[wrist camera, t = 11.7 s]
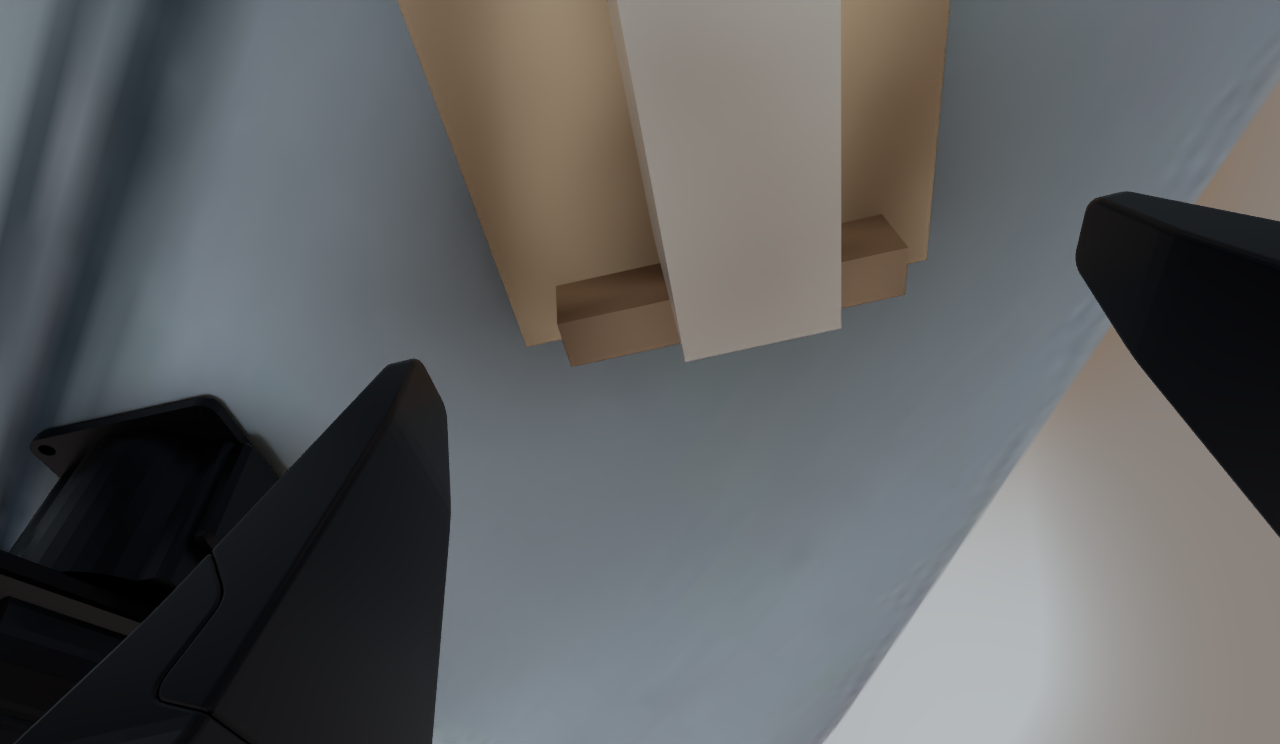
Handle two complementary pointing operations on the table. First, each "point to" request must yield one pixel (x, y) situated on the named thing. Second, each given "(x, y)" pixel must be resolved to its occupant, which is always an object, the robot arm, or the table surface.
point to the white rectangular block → (739, 162)
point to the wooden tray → (609, 168)
